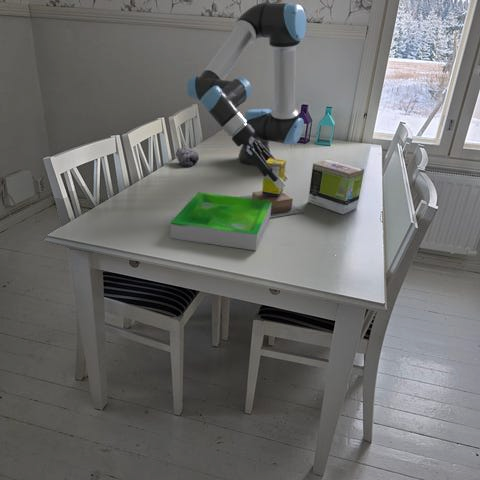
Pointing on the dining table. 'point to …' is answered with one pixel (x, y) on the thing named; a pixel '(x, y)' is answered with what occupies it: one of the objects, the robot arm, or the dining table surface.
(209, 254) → the dining table surface
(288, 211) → the plate
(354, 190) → the tea box
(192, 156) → the pumice stone
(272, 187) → the supplement box
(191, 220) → the tray
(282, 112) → the robot arm
